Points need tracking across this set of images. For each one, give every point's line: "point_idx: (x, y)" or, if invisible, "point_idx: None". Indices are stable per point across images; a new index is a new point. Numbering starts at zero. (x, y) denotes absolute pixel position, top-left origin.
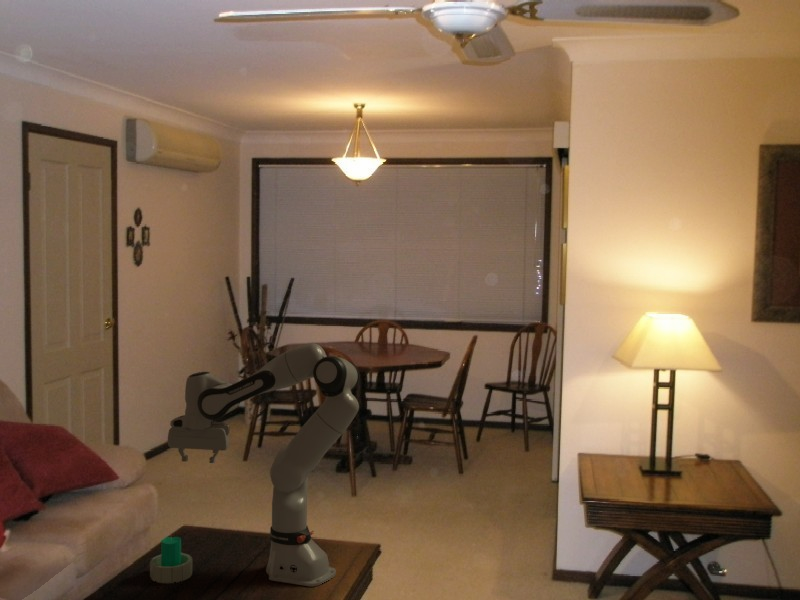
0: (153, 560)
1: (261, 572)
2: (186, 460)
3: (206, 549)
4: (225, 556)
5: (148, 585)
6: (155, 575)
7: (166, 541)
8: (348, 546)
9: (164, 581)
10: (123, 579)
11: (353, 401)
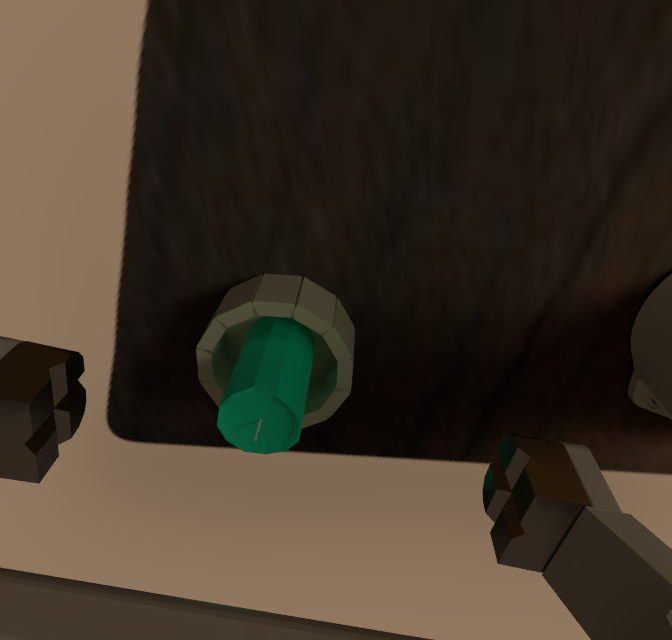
0: (207, 371)
1: (611, 334)
2: (77, 406)
3: (382, 73)
4: (477, 170)
5: None
6: None
7: (240, 420)
8: None
9: None
10: (134, 361)
11: None
